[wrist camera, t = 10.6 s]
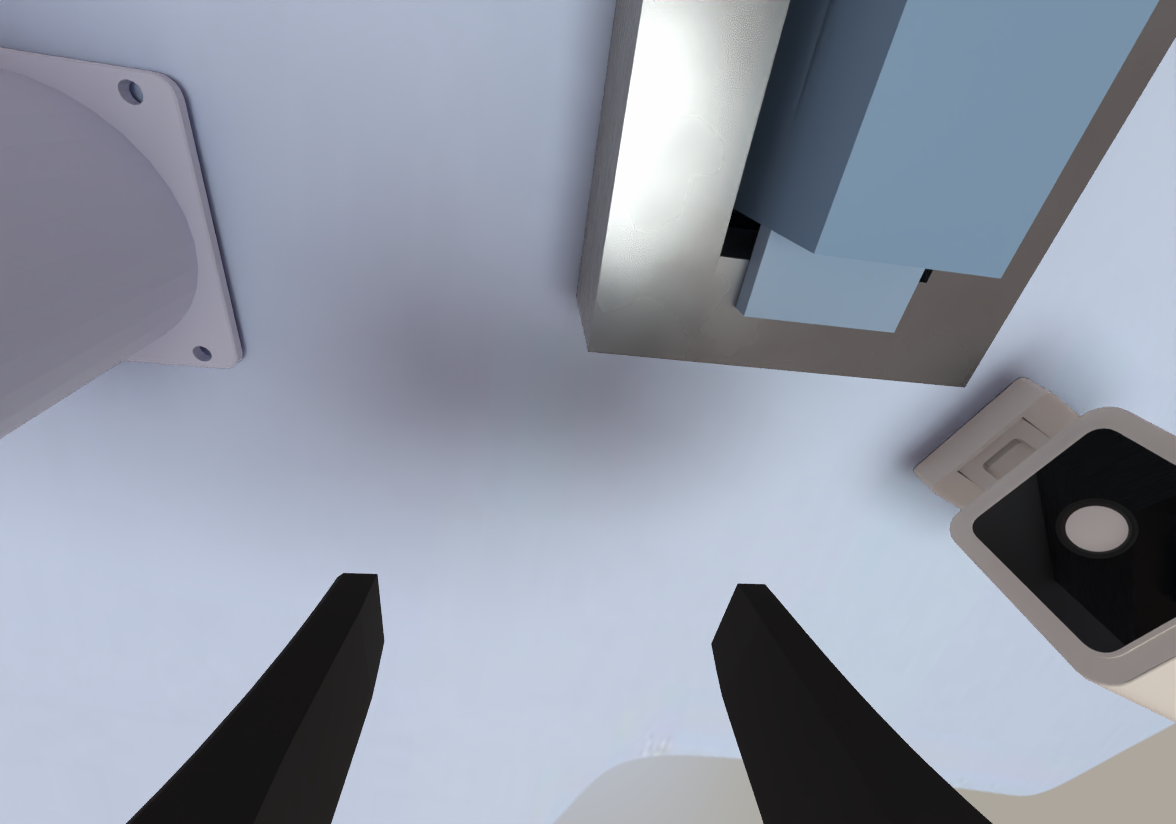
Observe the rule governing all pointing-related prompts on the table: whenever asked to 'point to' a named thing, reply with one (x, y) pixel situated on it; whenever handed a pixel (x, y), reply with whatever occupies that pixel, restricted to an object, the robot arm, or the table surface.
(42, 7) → the table surface
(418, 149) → the table surface
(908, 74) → the block
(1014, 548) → the security camera
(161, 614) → the table surface
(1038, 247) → the frame
